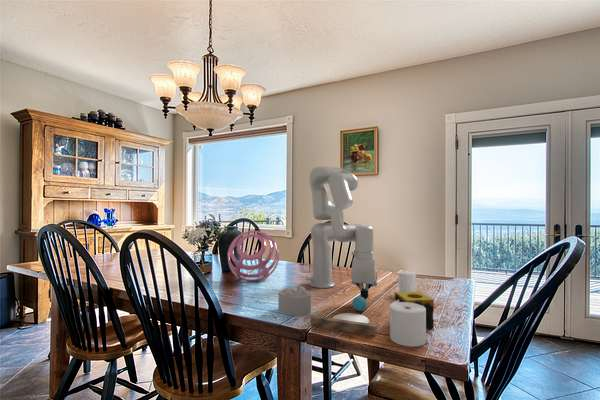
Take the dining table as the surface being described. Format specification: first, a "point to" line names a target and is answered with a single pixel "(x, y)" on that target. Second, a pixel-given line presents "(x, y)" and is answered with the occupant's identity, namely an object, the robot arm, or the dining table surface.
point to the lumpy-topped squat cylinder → (294, 301)
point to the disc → (352, 317)
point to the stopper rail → (344, 325)
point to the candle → (421, 300)
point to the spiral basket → (253, 257)
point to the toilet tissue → (407, 323)
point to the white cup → (406, 281)
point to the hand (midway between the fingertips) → (364, 299)
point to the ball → (359, 303)
